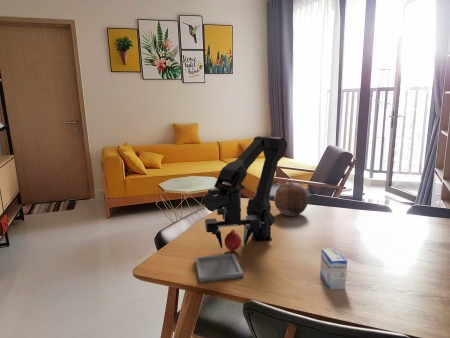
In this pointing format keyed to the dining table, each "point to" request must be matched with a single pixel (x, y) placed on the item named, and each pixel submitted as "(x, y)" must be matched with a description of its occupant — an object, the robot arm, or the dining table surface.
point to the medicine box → (333, 268)
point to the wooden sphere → (291, 199)
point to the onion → (232, 241)
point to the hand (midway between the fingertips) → (232, 246)
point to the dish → (218, 268)
